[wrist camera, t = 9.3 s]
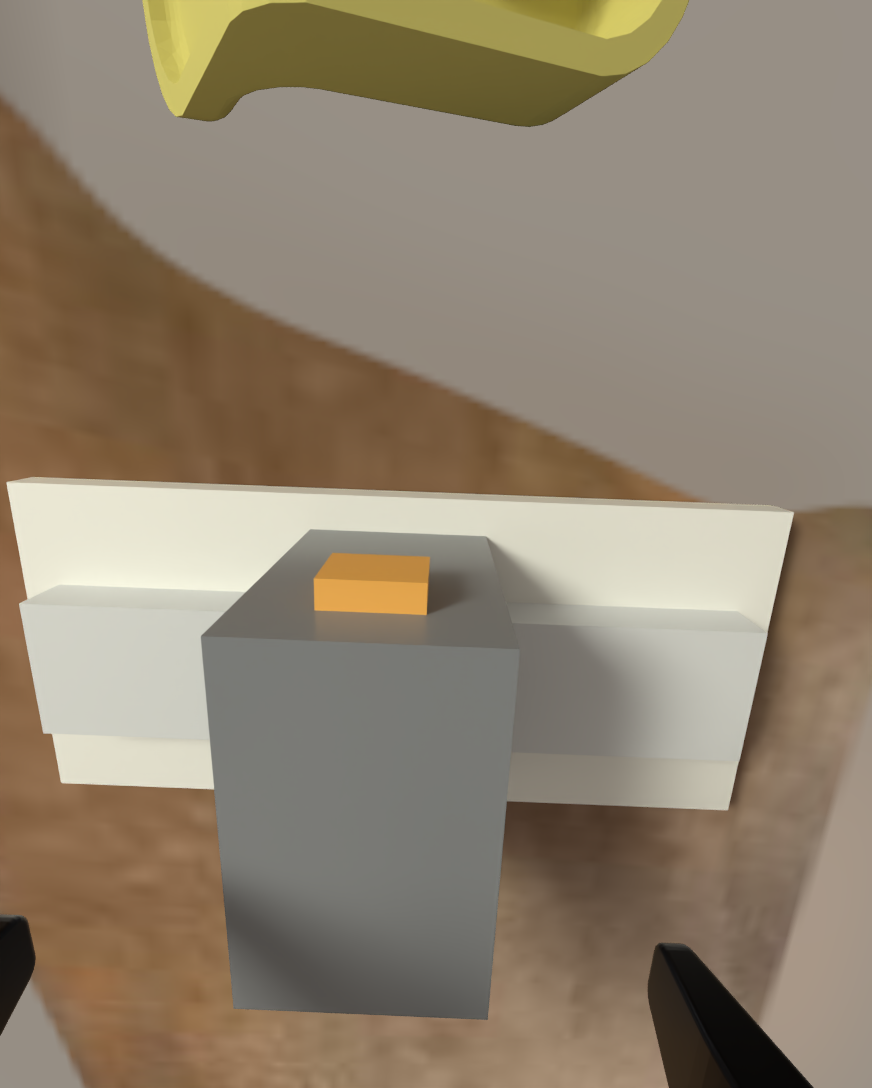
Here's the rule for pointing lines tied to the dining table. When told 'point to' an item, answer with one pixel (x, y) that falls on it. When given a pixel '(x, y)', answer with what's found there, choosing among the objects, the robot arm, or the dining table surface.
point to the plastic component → (406, 51)
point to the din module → (364, 774)
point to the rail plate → (506, 520)
